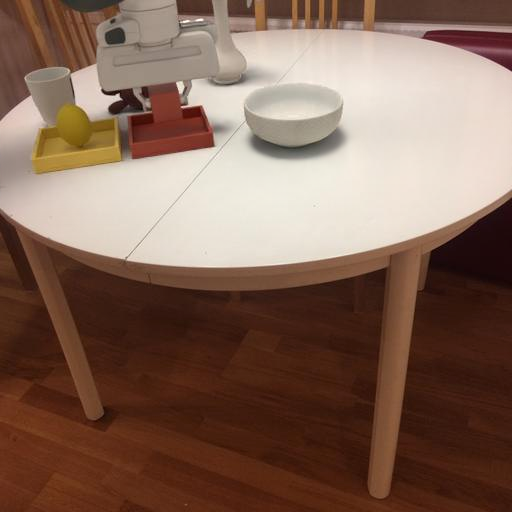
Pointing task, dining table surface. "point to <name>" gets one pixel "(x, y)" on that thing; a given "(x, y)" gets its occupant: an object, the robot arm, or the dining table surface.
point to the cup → (51, 91)
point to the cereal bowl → (293, 113)
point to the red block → (165, 102)
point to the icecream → (125, 99)
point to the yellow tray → (77, 148)
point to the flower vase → (227, 46)
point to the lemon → (73, 125)
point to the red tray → (169, 133)
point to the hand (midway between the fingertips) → (165, 107)
